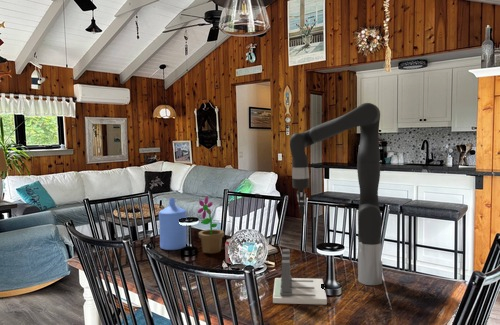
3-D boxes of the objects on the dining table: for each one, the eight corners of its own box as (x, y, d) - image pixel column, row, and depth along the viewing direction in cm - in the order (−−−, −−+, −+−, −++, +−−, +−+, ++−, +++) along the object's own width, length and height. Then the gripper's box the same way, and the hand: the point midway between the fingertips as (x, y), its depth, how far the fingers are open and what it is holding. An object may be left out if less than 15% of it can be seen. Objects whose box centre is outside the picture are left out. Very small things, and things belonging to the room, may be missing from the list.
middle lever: (291, 284, 153) (291, 254, 152) (291, 288, 149) (291, 257, 148) (281, 284, 153) (280, 253, 152) (280, 287, 149) (280, 257, 148)
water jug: (184, 250, 211) (183, 200, 209) (156, 250, 211) (154, 201, 209) (189, 242, 226) (188, 196, 224) (163, 242, 227) (161, 196, 225)
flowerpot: (210, 245, 219) (209, 194, 217) (229, 249, 211) (228, 196, 209) (193, 251, 208) (191, 198, 205) (213, 256, 199) (211, 200, 197)
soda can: (237, 266, 182) (237, 242, 182) (223, 265, 184) (223, 241, 183) (241, 261, 189) (240, 238, 189) (227, 261, 191) (227, 237, 190)
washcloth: (263, 257, 196) (262, 252, 196) (241, 250, 210) (241, 245, 210) (279, 252, 204) (279, 247, 203) (257, 246, 217) (257, 240, 217)
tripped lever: (291, 277, 159) (291, 248, 159) (291, 281, 156) (291, 251, 155) (281, 277, 160) (280, 248, 159) (281, 281, 156) (280, 251, 155)
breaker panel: (322, 283, 159) (322, 278, 159) (326, 304, 139) (326, 298, 139) (275, 282, 161) (275, 277, 161) (272, 303, 142) (272, 297, 141)
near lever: (292, 291, 146) (291, 259, 145) (292, 295, 142) (291, 263, 141) (280, 291, 146) (280, 259, 145) (280, 295, 142) (279, 263, 141)
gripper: (309, 178, 163) (310, 215, 164) (308, 175, 177) (309, 209, 178) (292, 179, 164) (293, 216, 165) (292, 175, 178) (293, 209, 179)
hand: (301, 212), depth 171 cm, fingers open, 8 cm apart
